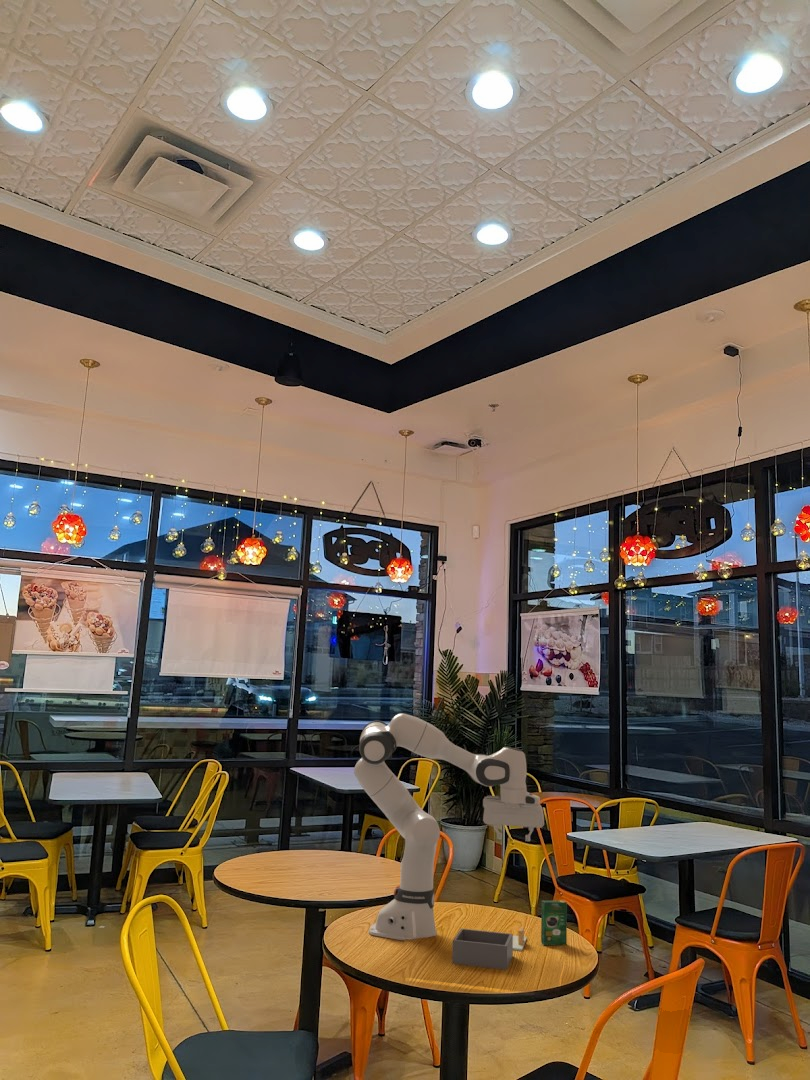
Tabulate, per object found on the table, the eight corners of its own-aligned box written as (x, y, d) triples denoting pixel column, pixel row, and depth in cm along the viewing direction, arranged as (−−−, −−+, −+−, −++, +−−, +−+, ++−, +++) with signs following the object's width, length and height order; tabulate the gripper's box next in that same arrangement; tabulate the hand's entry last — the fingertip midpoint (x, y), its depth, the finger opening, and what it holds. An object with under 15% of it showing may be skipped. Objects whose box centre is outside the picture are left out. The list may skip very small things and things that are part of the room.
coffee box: (564, 942, 251) (563, 899, 254) (567, 945, 249) (567, 901, 251) (540, 943, 250) (540, 899, 252) (544, 946, 247) (543, 902, 250)
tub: (452, 966, 225) (452, 940, 227) (460, 953, 238) (461, 928, 239) (507, 972, 221) (507, 946, 223) (512, 958, 234) (512, 933, 235)
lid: (469, 949, 243) (469, 929, 244) (476, 937, 255) (477, 918, 257) (522, 955, 239) (521, 934, 240) (526, 942, 251) (526, 923, 252)
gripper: (481, 795, 260) (481, 839, 258) (542, 799, 255) (543, 843, 252) (484, 794, 266) (484, 836, 264) (544, 797, 261) (544, 840, 258)
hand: (513, 840), depth 258 cm, fingers open, 8 cm apart
